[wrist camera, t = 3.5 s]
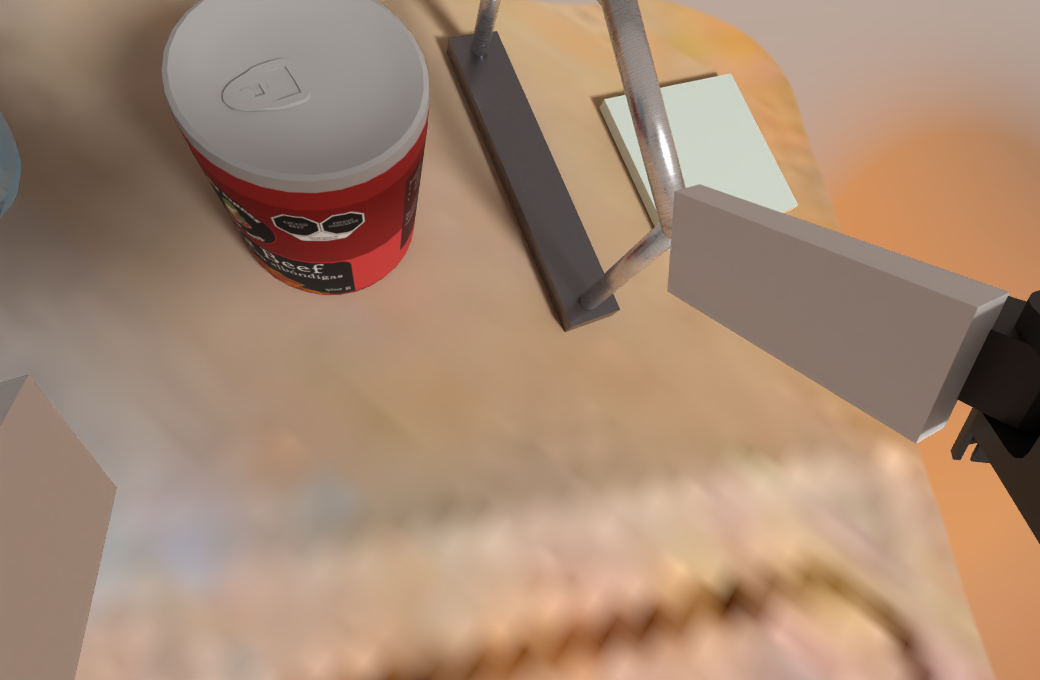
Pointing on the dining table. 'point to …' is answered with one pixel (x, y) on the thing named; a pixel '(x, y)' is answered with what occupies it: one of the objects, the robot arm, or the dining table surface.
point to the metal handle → (536, 176)
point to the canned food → (305, 130)
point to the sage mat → (706, 144)
